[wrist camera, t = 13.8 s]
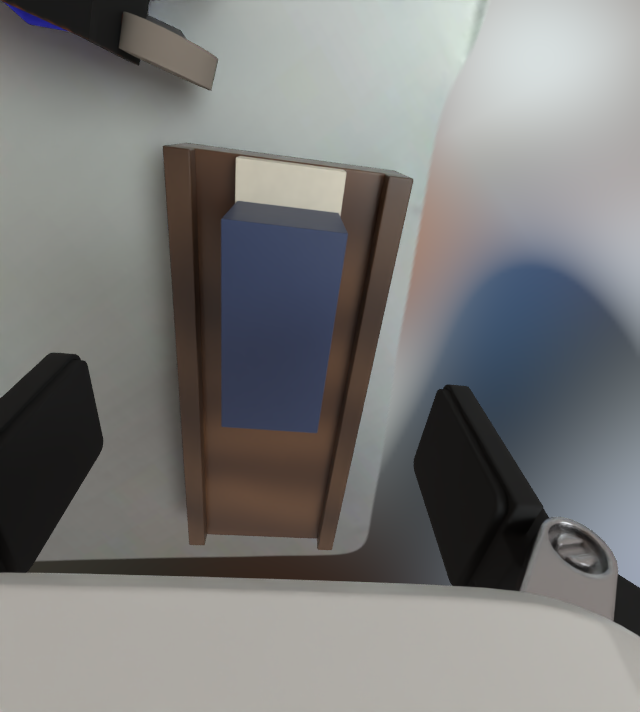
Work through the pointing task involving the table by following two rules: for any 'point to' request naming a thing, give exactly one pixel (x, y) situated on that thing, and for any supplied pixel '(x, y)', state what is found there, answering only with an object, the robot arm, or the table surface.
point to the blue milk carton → (279, 292)
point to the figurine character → (124, 33)
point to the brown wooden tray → (203, 354)
